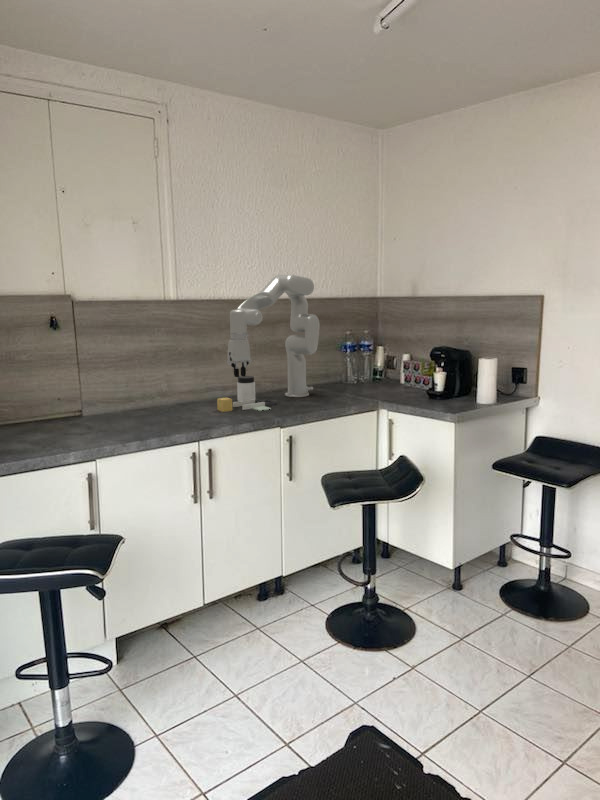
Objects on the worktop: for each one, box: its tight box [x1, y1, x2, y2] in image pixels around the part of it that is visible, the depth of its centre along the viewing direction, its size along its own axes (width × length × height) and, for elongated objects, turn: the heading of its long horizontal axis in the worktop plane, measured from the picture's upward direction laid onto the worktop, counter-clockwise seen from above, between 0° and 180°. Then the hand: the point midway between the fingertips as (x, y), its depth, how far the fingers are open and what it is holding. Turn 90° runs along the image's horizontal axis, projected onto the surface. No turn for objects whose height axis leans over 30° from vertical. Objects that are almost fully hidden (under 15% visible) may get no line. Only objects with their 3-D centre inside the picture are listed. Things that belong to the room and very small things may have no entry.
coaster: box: [251, 406, 272, 412], centre depth 267 cm, size 6×6×1 cm
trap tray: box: [255, 399, 277, 407], centre depth 279 cm, size 7×8×1 cm
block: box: [216, 397, 233, 413], centre depth 265 cm, size 5×5×6 cm
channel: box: [232, 398, 266, 411], centre depth 273 cm, size 12×10×2 cm
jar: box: [236, 375, 256, 402], centre depth 287 cm, size 9×8×12 cm
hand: (239, 376), depth 267 cm, fingers open, 2 cm apart
